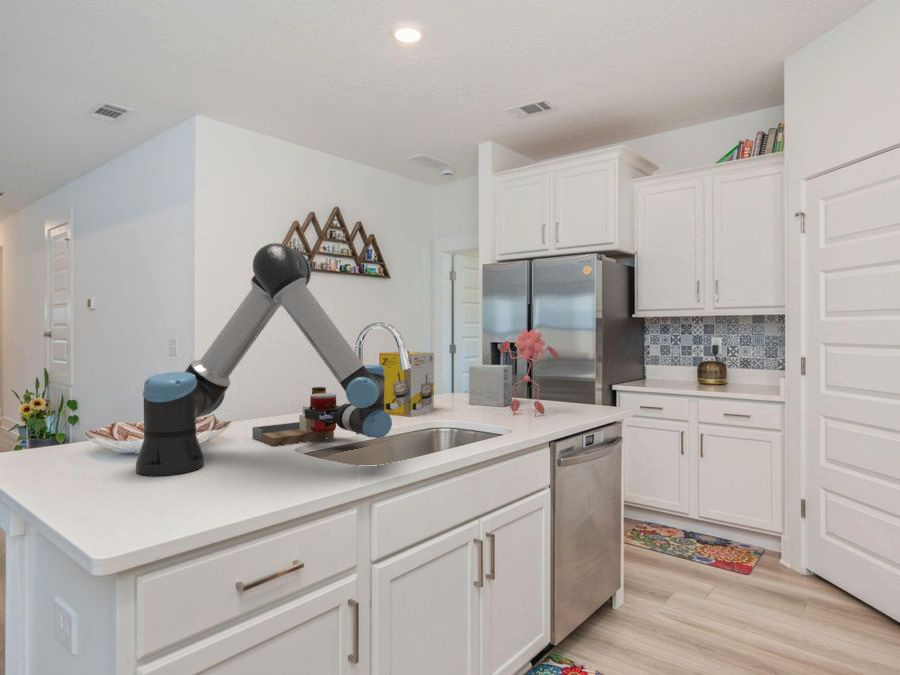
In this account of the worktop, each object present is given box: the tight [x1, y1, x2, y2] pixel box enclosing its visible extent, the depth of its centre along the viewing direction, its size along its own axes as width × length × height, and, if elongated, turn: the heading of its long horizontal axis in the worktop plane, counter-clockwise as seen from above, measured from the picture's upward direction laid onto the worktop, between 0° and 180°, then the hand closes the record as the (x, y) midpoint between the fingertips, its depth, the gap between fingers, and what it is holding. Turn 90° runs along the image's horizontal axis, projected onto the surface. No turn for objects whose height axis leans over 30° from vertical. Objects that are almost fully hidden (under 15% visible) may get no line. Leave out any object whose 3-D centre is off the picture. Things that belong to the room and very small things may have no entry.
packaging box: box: [378, 351, 435, 418], centre depth 233 cm, size 16×16×25 cm
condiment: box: [310, 386, 327, 396], centre depth 217 cm, size 7×8×12 cm
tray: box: [252, 421, 299, 442], centre depth 181 cm, size 20×7×4 cm, turn 130°
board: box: [260, 429, 335, 447], centre depth 175 cm, size 20×9×2 cm, turn 130°
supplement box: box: [468, 364, 513, 407], centre depth 261 cm, size 17×13×18 cm
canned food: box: [309, 392, 337, 432], centre depth 174 cm, size 8×8×11 cm
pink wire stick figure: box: [499, 329, 560, 418], centre depth 232 cm, size 15×26×35 cm, turn 64°
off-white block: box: [298, 413, 312, 432], centre depth 178 cm, size 4×4×5 cm
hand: (316, 408), depth 178 cm, fingers closed on canned food, 8 cm apart
